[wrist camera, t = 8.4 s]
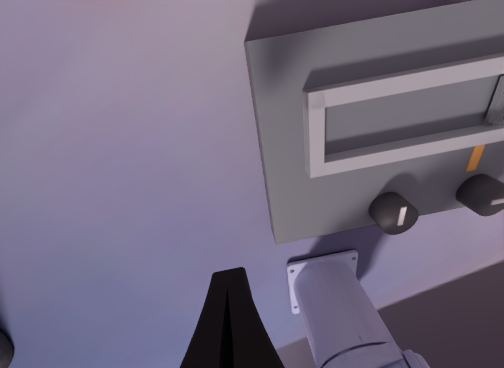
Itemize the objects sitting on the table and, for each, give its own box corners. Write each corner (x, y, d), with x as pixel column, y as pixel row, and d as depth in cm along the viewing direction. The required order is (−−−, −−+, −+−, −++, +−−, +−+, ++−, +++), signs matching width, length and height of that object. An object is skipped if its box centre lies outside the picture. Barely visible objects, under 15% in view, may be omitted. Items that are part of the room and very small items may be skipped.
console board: (504, 183, 23) (554, 207, 20) (271, 229, 23) (281, 262, 19) (605, -24, 15) (722, -46, 12) (244, 42, 15) (251, 40, 11)
